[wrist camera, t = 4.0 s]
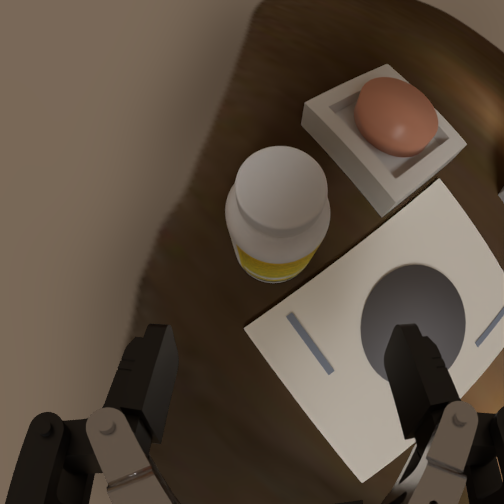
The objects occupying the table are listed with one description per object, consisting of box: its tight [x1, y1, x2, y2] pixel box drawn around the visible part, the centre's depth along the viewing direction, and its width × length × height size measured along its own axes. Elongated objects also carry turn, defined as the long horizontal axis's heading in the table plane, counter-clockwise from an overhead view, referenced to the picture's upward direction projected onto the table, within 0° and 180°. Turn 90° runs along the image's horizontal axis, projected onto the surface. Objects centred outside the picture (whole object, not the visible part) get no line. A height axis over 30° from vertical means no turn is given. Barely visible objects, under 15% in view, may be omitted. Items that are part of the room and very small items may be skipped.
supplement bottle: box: [225, 146, 330, 283], centre depth 18 cm, size 5×5×10 cm
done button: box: [354, 77, 438, 158], centre depth 21 cm, size 6×6×2 cm
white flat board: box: [244, 179, 504, 483], centre depth 21 cm, size 20×15×1 cm
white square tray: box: [301, 64, 467, 218], centre depth 23 cm, size 10×10×3 cm
